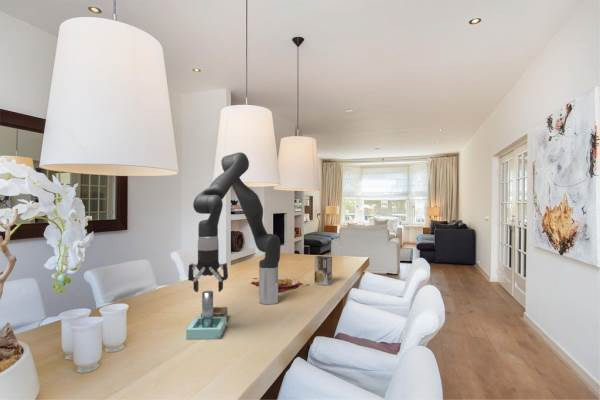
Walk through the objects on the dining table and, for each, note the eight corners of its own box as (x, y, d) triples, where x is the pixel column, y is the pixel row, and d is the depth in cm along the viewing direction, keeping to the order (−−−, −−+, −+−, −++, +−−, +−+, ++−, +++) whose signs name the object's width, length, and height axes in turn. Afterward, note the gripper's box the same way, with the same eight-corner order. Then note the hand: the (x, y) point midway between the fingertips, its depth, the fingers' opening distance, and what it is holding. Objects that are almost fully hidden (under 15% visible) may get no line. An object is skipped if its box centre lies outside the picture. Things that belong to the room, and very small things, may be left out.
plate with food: (278, 294, 183) (279, 287, 183) (249, 284, 202) (250, 278, 202) (310, 287, 200) (310, 281, 200) (281, 278, 219) (281, 272, 219)
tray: (226, 325, 134) (226, 316, 134) (220, 339, 121) (220, 329, 121) (195, 326, 133) (195, 317, 133) (186, 339, 120) (186, 329, 120)
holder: (227, 316, 145) (227, 306, 145) (223, 323, 136) (223, 313, 136) (206, 316, 145) (206, 307, 145) (200, 324, 136) (201, 314, 136)
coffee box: (332, 283, 204) (332, 256, 204) (327, 285, 198) (327, 258, 198) (319, 281, 209) (319, 255, 209) (313, 283, 203) (314, 256, 203)
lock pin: (213, 327, 129) (214, 290, 129) (211, 331, 125) (211, 293, 125) (203, 327, 129) (203, 290, 129) (200, 331, 125) (200, 293, 125)
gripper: (229, 246, 131) (229, 288, 131) (191, 246, 131) (191, 289, 131) (225, 249, 124) (225, 293, 124) (186, 249, 123) (186, 294, 123)
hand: (208, 291), depth 127 cm, fingers open, 8 cm apart
